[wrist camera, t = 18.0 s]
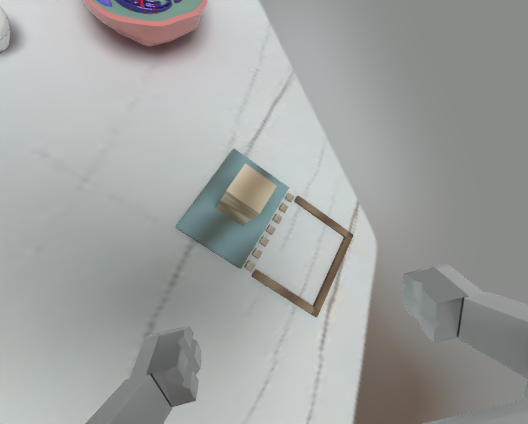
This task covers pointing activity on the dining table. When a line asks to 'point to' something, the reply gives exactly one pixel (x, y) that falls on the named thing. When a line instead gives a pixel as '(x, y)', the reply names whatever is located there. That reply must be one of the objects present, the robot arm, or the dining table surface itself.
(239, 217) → the birch stub block
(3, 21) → the muffin
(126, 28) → the cell model
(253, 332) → the dining table surface
